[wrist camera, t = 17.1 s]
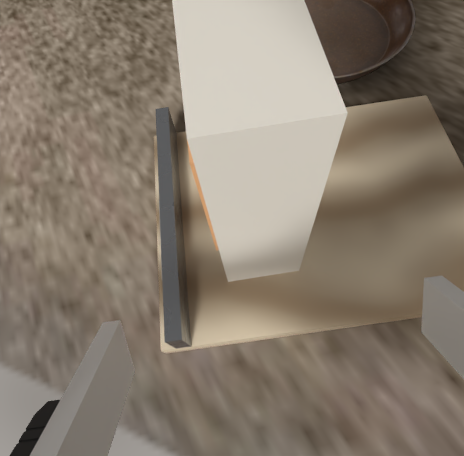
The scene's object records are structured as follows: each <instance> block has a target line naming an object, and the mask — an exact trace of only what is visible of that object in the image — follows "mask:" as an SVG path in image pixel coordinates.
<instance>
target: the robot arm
mask: <svg viewBox="0 0 464 456" xmlns="http://www.w3.org/2000/svg"><path fill="white" fill-rule="evenodd" d="M421 332H422V333H423V335H424V336H425V337H426V338H427V339H428V340H429V341H430V342H431V343H432V344H433V346H434V347H435V348H436V349H437V350H438V351H439V352H440V353H441V354H442V356H443V357H444V358H445V359H446V360H447V361H448V362H449V363H450V364H451V365H452V367H453V368H454V369H455V370H456V371H457V372H458V373H459V374H460V375H461V376H462V378H463V379H464V292H463V291H462V290H461V289H459V288H458V287H457V286H455V285H454V284H453V283H451V282H450V281H449V280H447V279H446V278H445V277H443V276H435V277H427V278H424V288H423V309H422V330H421ZM134 373H135V370H134V366H133V363H132V359H131V356H130V352H129V349H128V345H127V342H126V338H125V334H124V331H123V327H122V324H121V320H117V321H110V322H103V323H102V325H101V327H100V329H99V331H98V332H97V334H96V336H95V338H94V340H93V341H92V343H91V345H90V347H89V349H88V351H87V352H86V354H85V356H84V358H83V360H82V361H81V363H80V365H79V367H78V369H77V371H76V372H75V374H74V376H73V378H72V380H71V381H70V383H69V385H68V387H67V389H66V391H65V392H64V394H63V396H62V398H61V400H55V401H48V402H47V403H46V404H45V405H44V406H43V407H42V408H41V409H40V410H39V411H38V412H37V413H36V414H35V415H34V417H33V418H32V420H31V422H30V423H29V425H28V426H27V428H26V431H25V432H24V433H23V435H22V436H21V438H20V440H19V443H18V444H17V445H16V447H15V448H14V450H13V451H12V453H11V454H10V456H108V453H109V450H110V447H111V443H112V441H113V438H114V434H115V431H116V428H117V425H118V422H119V419H120V416H121V413H122V410H123V407H124V404H125V401H126V397H127V394H128V391H129V388H130V385H131V382H132V379H133V376H134Z"/></svg>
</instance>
